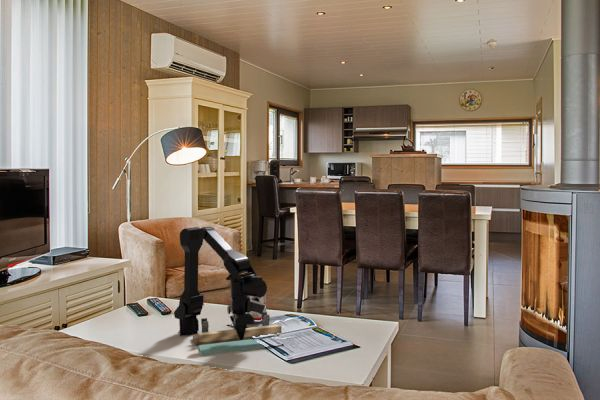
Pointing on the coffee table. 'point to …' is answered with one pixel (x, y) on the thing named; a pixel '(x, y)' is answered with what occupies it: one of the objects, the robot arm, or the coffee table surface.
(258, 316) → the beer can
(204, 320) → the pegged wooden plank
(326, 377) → the coffee table surface
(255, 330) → the oak rail
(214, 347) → the teal mat
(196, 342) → the walnut board
